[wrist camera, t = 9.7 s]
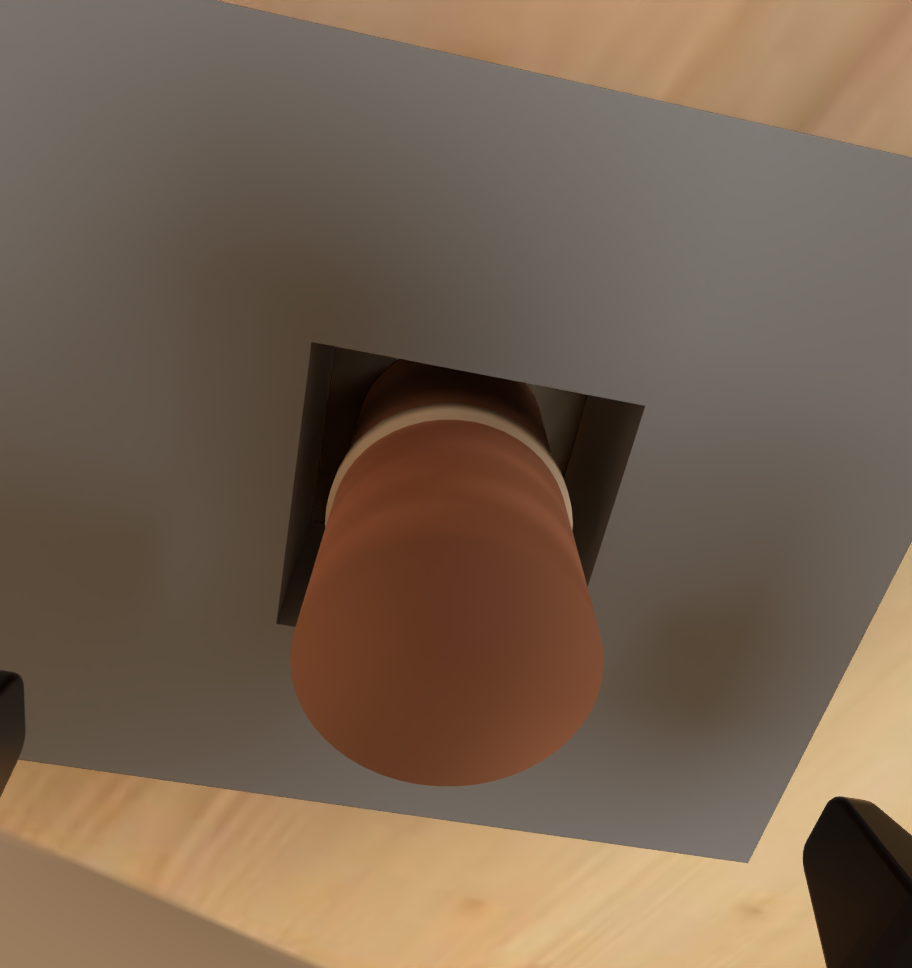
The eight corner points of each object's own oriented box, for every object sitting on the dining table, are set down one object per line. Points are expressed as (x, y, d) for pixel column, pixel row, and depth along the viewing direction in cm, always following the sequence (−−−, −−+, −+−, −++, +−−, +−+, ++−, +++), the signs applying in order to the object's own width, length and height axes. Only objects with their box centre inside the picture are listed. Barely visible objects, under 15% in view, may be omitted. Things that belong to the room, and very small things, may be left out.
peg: (568, 361, 17) (654, 560, 10) (522, 534, 19) (564, 811, 11) (369, 322, 16) (302, 497, 9) (341, 502, 18) (267, 767, 11)
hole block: (936, 173, 15) (1087, 196, 12) (697, 732, 21) (748, 862, 18) (71, -21, 14) (-64, -63, 10) (75, 635, 20) (-10, 755, 16)
